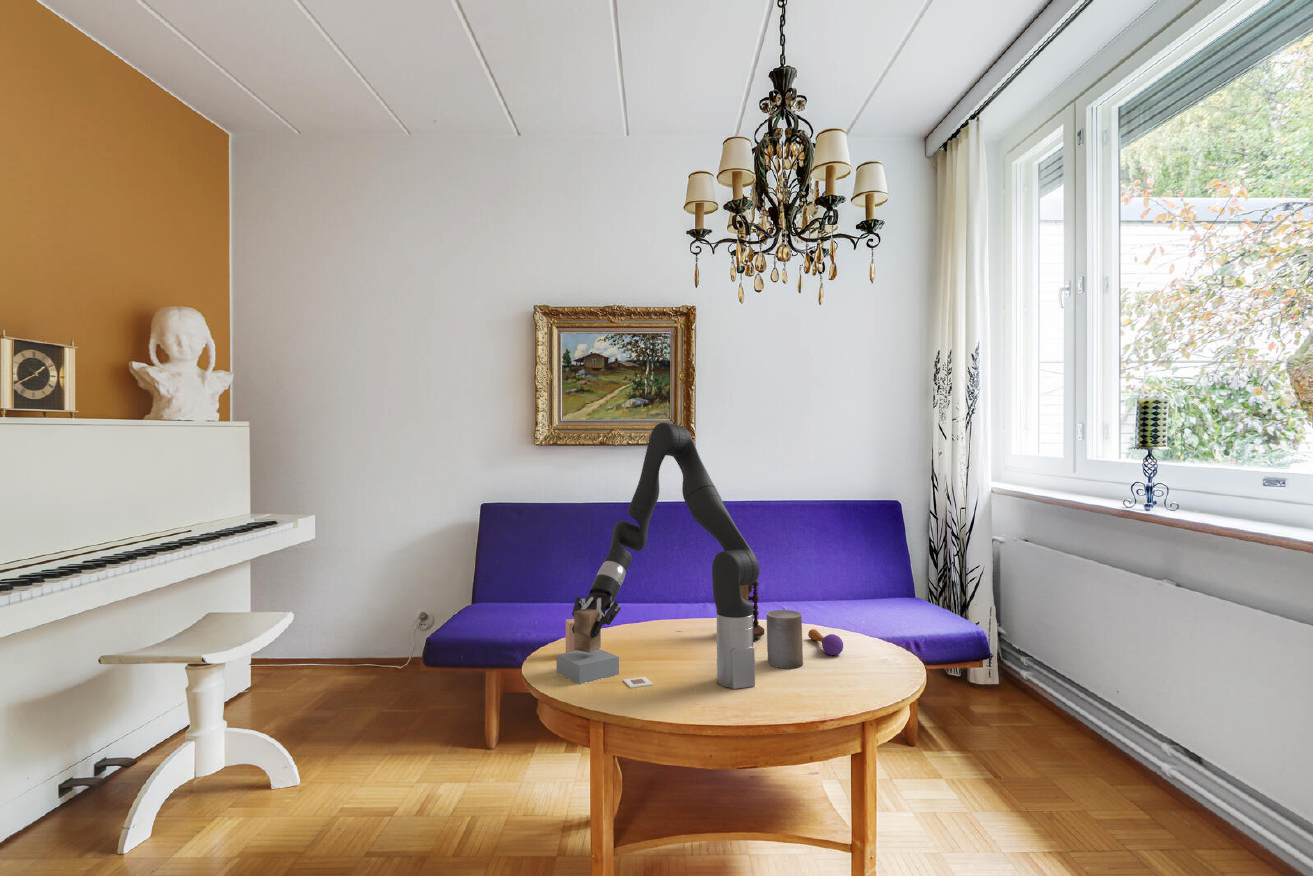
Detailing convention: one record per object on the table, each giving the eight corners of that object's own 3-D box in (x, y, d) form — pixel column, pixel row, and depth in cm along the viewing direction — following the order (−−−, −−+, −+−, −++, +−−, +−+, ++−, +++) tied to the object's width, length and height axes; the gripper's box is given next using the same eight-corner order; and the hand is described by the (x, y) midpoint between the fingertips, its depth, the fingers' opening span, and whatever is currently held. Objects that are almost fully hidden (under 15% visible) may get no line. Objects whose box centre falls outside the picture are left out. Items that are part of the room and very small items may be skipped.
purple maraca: (823, 626, 204) (847, 638, 185) (821, 645, 204) (845, 659, 184) (805, 623, 204) (827, 634, 184) (802, 642, 203) (824, 656, 183)
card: (653, 685, 162) (653, 683, 162) (630, 688, 160) (630, 686, 160) (645, 677, 168) (645, 676, 168) (623, 680, 165) (623, 679, 165)
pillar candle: (801, 658, 183) (799, 605, 184) (804, 669, 173) (803, 612, 174) (766, 658, 184) (765, 605, 185) (768, 668, 175) (766, 612, 175)
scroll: (713, 641, 202) (712, 576, 203) (723, 629, 216) (722, 569, 217) (760, 645, 197) (759, 579, 198) (767, 633, 211) (766, 571, 212)
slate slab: (619, 676, 170) (618, 656, 170) (579, 685, 163) (579, 665, 163) (594, 665, 180) (594, 647, 180) (556, 673, 172) (556, 654, 173)
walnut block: (600, 647, 173) (600, 610, 173) (589, 652, 168) (589, 613, 169) (585, 645, 175) (585, 608, 175) (574, 650, 171) (574, 611, 171)
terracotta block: (586, 657, 186) (586, 622, 187) (569, 659, 184) (569, 623, 185) (582, 652, 191) (582, 618, 191) (565, 654, 189) (565, 619, 189)
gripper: (581, 571, 182) (555, 623, 171) (625, 575, 175) (600, 630, 164) (592, 587, 187) (567, 639, 176) (635, 591, 180) (611, 646, 169)
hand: (583, 634), depth 170 cm, fingers closed on walnut block, 5 cm apart
